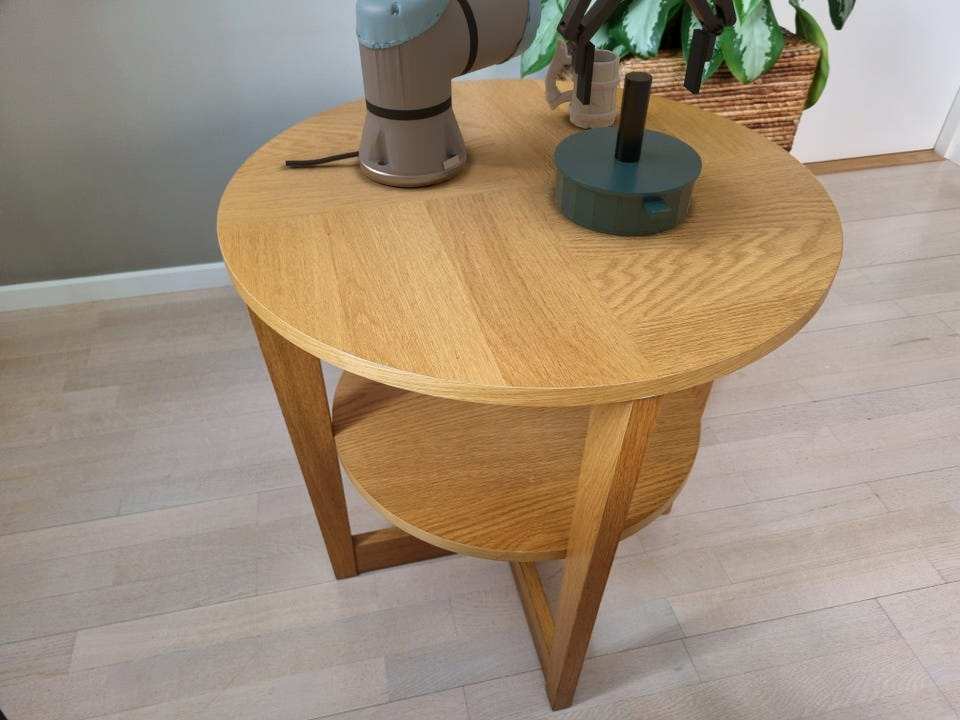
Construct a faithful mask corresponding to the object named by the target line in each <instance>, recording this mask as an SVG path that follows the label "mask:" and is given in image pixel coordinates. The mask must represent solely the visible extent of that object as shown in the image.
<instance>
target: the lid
mask: <svg viewBox="0 0 960 720" xmlns="http://www.w3.org/2000/svg"><path fill="white" fill-rule="evenodd" d="M653 78H654V76H653V75H652V74H650V73H648V72H644V71H630V72H627V73H626V74H625V75H624V80H623V86H622V87H623V89H622V94H621V95H622V96H621V103H620V111H619V118H618V124H617V125H618V126H608V127H601V128H594V129H591V128H588V129H585V130H581V131H577V132H575V133H573V134H570V135H568V136H567V137H565V138H564V139H562V140H561V141H560V142H559V143H558V144H557V146H555V148H554V152H553V163H554V166H555V168H556V169H557V170H558V171H559V172H560V173H561V174H562V175H563V176H564V177H565V178H567V179H568V180H570V181H571V182H573V183H575V184H577V185H579V186H581V187H584V188H586V189H589V190H592V191H595V192H599V193H603V194H608V195H614V196H623V197H653V196H661V195H666V194H670V193H674V192H677V191H680V190H682V189H684V188H687V187H688V186H690V185H691V184H693V183H694V182H695V183H696V181H697V180H698V179H699V178H700V176H701V173H702V170H703V161H702V158H701V156H700V154H699V153H698V152H697V151H696V149H695V148H693V147H692V146H691V145H689V144H688V143H687V142H685V141H683V140H681V139H679V138H677V137H675V136H673V135H670V134H666V133H664V132H660V131H656V130H652V129H648V128H646V124H647V117H648V109H649V104H650V99H651V91H652V86H653V80H654V79H653Z"/></svg>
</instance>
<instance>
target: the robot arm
mask: <svg viewBox="0 0 960 720" xmlns="http://www.w3.org/2000/svg"><path fill="white" fill-rule="evenodd" d="M592 1H593V0H569V2H568V3H567V5H566V7H565V9H564V11H563V13H562V15H561V18H560V19H559V22H558V23H557V26H556V32H557V33H558V34H559V36H561V38H562V39H563V40H564V41H567V42H568V41H570V42H572V46H571V56H572V59H571V60H572V61H571V64H570V68H571V70H572V71H573V73H574V72H575V74H578V79H577V91H576V97H577V98H578V99H579V101H580V102H581V103H582V104H583V105H590V97H591V86H592V76H593V65H594V55H595V49H596V45H595V44H594V43H593V42H592V41H591V40H592V39H593V38H594V36H595V35H596V33H597V32H598V31H599V30H600V29H601V27H602V26H603V25H604V24H605V23H606V22H607V20H608V19H609V17H611V15H612V14H613V12H614V11H615V10H616V9H617V8H618V6H619V5H620V4H621V2H623V0H595V1H594V2H593V4H592V5H591V3H592ZM686 2H687V4H688V5H689V7H690V9H691V11H692V12H693V14H694V16H695V17H696V19H697V22H698V23H699V25H700V26H701V28H693V30H692V36H691V42H690V47H689V53H688V58H687V64H686V70H685V74H684V80H683V87H684V88H685V89H686V90H687V91H689V93H691V94H692V95H699V94H700V92H701V91H700V90H701V85H702V82H703V75H704V70H705V66H706V63H710V62H711V60H712V59H713V56H714V52H715V51H714V50H715V45H716V42H717V37H720V36H722V34H723V33H724V32H725V31H724V30H725V28H727V27H729V28H731V27H734V26H735V25H736V23H737V21H738V20H737V19H738V18H737V12H736V9H735V8H736V7H735V5H734V4H735V3H734V0H712V4H713V9H714V11H713V9H712V7H711V5H710V3H709V2H708V0H686ZM590 5H591V6H590ZM714 12H715V13H714ZM541 21H542V0H356V1H355V24H356V25H355V36H356V39H357V41H358V50H359V57H360V58H359V59H360V66H361V67H360V68H361V75H362V76H361V77H362V83H363V84H362V85H363V91H364V99H365V109H366V114H365V119H364V123H363V128H362V133H361V136H360V137H361V138H360V144H359V148H358V150H357V151H356V150H355V151H350V152H345V153H339V154H334V155H329V156H325V157H321V158H316V159H315V158H314V159H303V160H301V159H298V160H295V159H293V160H290V159H289V160H285V166H286V167H306V166H317V165H322V164H327V163H332V162H336V161H341V160H347V159H353V158H358V161H359V162H358V163H359V168H360V170H361V172H362V173H363V175H364V176H366V177H367V178H368V179H370V180H371V181H374V182H377V183H380V184H382V185H387V186H391V187H393V186H394V187H400V188H417V187H427V186H432V185H436V184H437V185H438V184H440V183H443V182H446V181H449V180H450V179H453V178H455V177H456V176H457V175H459V174H460V173H461V172H462V171H463V170H464V169H465V168H466V165H467V147H466V143H465V140H464V136H463V134H462V132H461V128H460V126H459V123H458V120H457V118H456V115H455V112H454V108H453V95H452V94H453V89H452V87H453V86H452V80H453V79H456V78H460V77H462V76H465V75H468V74H471V73H474V72H477V71H480V70H483V69H486V68H489V67H493V66H499V65H503V64H505V63H507V62H509V61H510V60H512V59H514V58H517V57H519V56H521V55H523V54H524V53H525V52H526V51H527V50H529V49H530V48H531V46H532V45H533V43H534V41H535V40H536V38H537V34H538V30H539V28H540V27H541Z"/></svg>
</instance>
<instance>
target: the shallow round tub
mask: <svg viewBox="0 0 960 720" xmlns="http://www.w3.org/2000/svg"><path fill="white" fill-rule="evenodd" d="M554 183H555V184H554V185H555V186H554V202H555V205H556V207H557V209H558V210H559V212H560V213H561V214H562V215H563V217H565V218H567V220H569V221H571V222H573V223H575V224H576V225H578V226H580V227H583V228H585V229H588V230H591V231H594V232H598V233H603V234H607V235H614V236H627V237H628V236H629V237H631V236H633V237H634V236H636V237H638V236H647V235H648V236H649V235H653V234H657V233H658V234H659V233H663V232H665V231H668V230H670V229H672V228H674V227H676V226H677V225H679V224H680V223H681V222H683V220H684V219H685V218H686V217H687V215H688V212H689V209H690V207H691V202H692V199H693V194H694V189H695V186H696V181H695V182H694V183H693V184H691V185H690V186H688V187H687V188H684V189H682V190H680V191H677V192H674V193H670V194H666V195H661V196H653V197H623V196H614V195H608V194H603V193H599V192H595V191H592V190H589V189H586V188H584V187H581V186H579V185H577V184H575V183H573V182H571V181H570V180H568V179H567V178H565V177H564V176H563V175H562V174H561V173H560V172H559V171H558V170H557V168H556V171H555V182H554Z"/></svg>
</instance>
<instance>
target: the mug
mask: <svg viewBox="0 0 960 720" xmlns="http://www.w3.org/2000/svg"><path fill="white" fill-rule="evenodd" d="M568 51H569V50H568V45H567V44H566V40H565V39H564V38H563V37H560V36H559V37H557V40H556V49H555V51H554V54H553V56H552V59H551V62H550V63H549V65H548V68H547V71H546V73H545V76H544V98H545V101H546V103H548V107H549V109H550V110H551V111H554V110H556V109H557V108H558V107H559V106H561V105H563V104H565V103H569V104H568V115H569V121H570V123H571V124H573V125H574V126H575V127H578V128H581V129H585V130H589V129H594V128H601V127H612V126H613V124H614V123H615V119H616V117H617V116H618V112H619V108H618V105H617V94H618V85H619V84H620V83H621V75H620V74H619V72H620V71H619V70H620V61H621V60H620V59H621V58H620V56H619V55H620V54H618V53H617V52H615V51H611V50H609V49H600V48H598V49H597V48H595V55H594V65H593V76H592V86H591V97H590V105H583V104H582V103H581V102H580V101H579V99H578V98H577V97H576V91H577V79H578V74H575V72H574V71H573V74H572V82H573V85H572V89H569V90H566V91H563V92H561V91H560V89H559V88H558V86H557V75H558V73H559V72H560V71H561V70H562V68H563V67H564V66H565V65H571V61H572V60H571V59H572V55H570V54H568V53H569V52H568Z"/></svg>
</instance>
